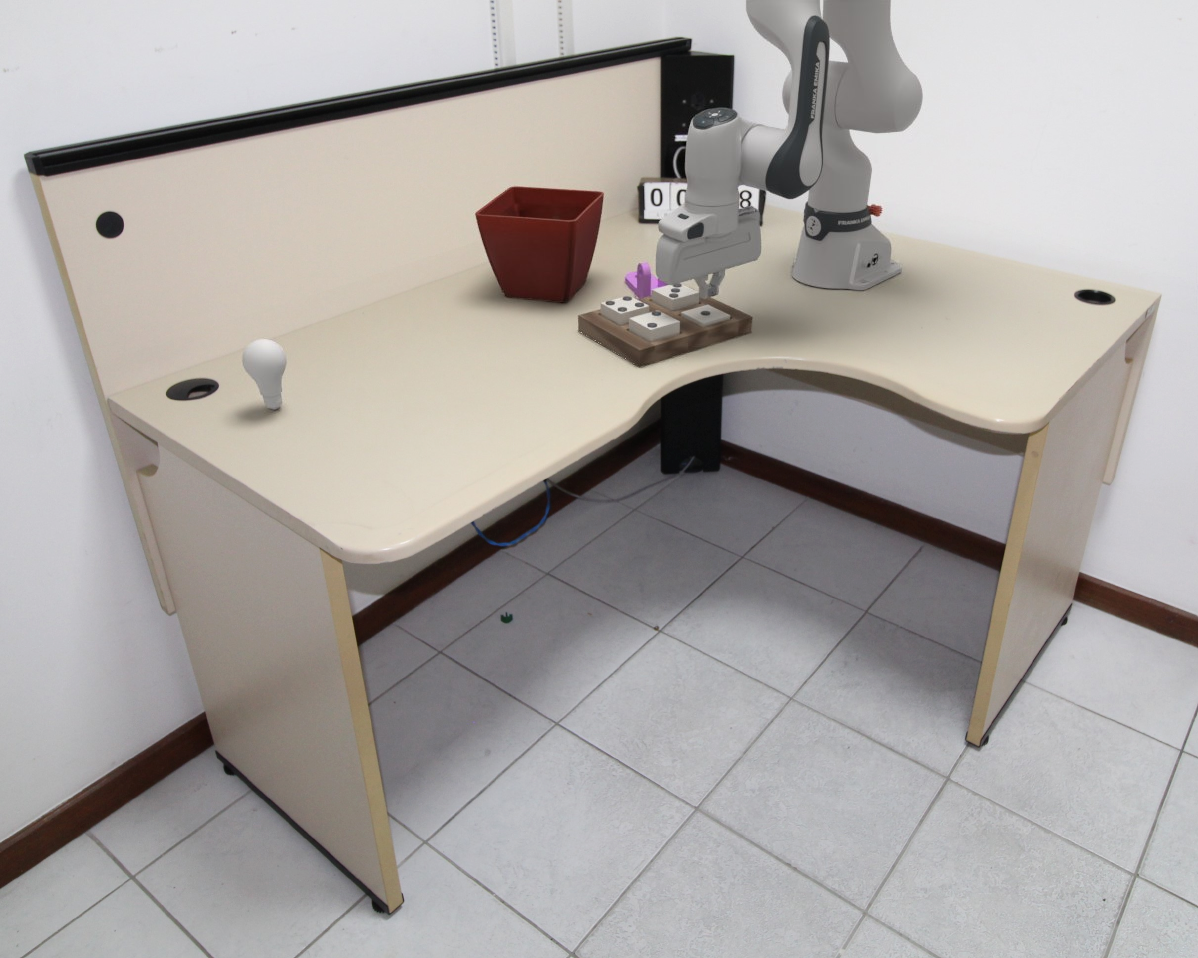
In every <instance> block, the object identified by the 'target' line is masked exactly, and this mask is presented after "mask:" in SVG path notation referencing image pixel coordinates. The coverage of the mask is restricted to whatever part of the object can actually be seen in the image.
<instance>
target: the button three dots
mask: <svg viewBox="0 0 1198 958" xmlns="http://www.w3.org/2000/svg"><path fill="white" fill-rule="evenodd" d="M691 288H692V287H690V288H689V286H687V285H684V284H682V283H678V284H675V285H667V286H663V287H659V288H656V289H652V299H651V302H653V303H655V304H657V305H659V306H661V307H663V308H665V309H667V310H669V311H671V312H673V311H676V310H680V309H683V308H687V307H690V306H694V305H698V304H699V290H695V289H694V288H692V289H691ZM693 289H694V290H693Z"/></svg>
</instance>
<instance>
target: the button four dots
mask: <svg viewBox="0 0 1198 958" xmlns="http://www.w3.org/2000/svg"><path fill="white" fill-rule="evenodd" d="M600 309H601V316H603V317H604V318H606V319H608V320H610V321H612V322H613V323H615V324H617V325H619V326H623V325H626V324H629V318H632V317H635V316H639V315H643V314H646V313H649V306H648V305H647V304H645V303H643V302H641V301H639V300H637V298H635V297H633V296H631V295H626V296H622V297H618V298H614V299H610V300H606V301H603V302H600Z"/></svg>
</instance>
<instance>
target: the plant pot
mask: <svg viewBox="0 0 1198 958" xmlns="http://www.w3.org/2000/svg"><path fill="white" fill-rule="evenodd" d="M604 194H605V192H603V191H600V190H599V191H597V190H584V189H583V190H582V189H567V188H566V189H565V188H553V187H552V188H548V187H537V186H536V187H535V186H533V187H532V186H516V185H514V186H510V187H508V188H507V189H505V190H504V191H503V192H501V193H500V194H498V195H497V196H496V197H494V198H493V199H492V200H491V201H489V202H488V203H487V204H485V205H484V206H482V207H481V208H480V209H478V210H477V211H475V213H474V215H475V219H476V223H477V228H478V232H479V235H480V239H481V242H482V245H483V248H484V250H485V254H486V256H487V260H488V261H489V265H490V266H491V269H492V271H493V274H494V276H495V278H496V281H497V283H498V285H499V288H500V289H501V292H502V294H503V295H504V297H506V298H510V299H522V300H523V299H524V300H536V301H546V302H556V303H557V302H558V303H566V302H568V301H569V300H571V298H572V297H573V296H574V295H575V294H576V293H577V292H578V290H579V289H580V288H582V286H583V285H584V284H585V282H587V279H588V275H589V272H590V269H591V266H592V261H593V258H594V254H595V252H596V251H595V250H596V246H597V243H598V237H599V231H600V227H601V222H602V221H601V220H602V213H603V212H602V211H603V205H604V197H605V195H604Z"/></svg>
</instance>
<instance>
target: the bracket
mask: <svg viewBox="0 0 1198 958" xmlns="http://www.w3.org/2000/svg"><path fill="white" fill-rule="evenodd" d="M636 267H637V269H636V271H631V272H628V273H626V274H625V275H624V278H625V281H624V284H625V285H626V286H627V287H628V288H629V289H630V290H631V291H632V292H633V293H634V294H635V295H636V296H637V297H638V299H641V298H644V297H648V296H652V289H656V288H659V287H663V286H667V285H668V284H666V283H664V282H662V281H661V280H659V278H658V277H657V276H656V275H654V274H653V273H652V270H651V266H650V263H648V262H638V264H637V266H636Z"/></svg>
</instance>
